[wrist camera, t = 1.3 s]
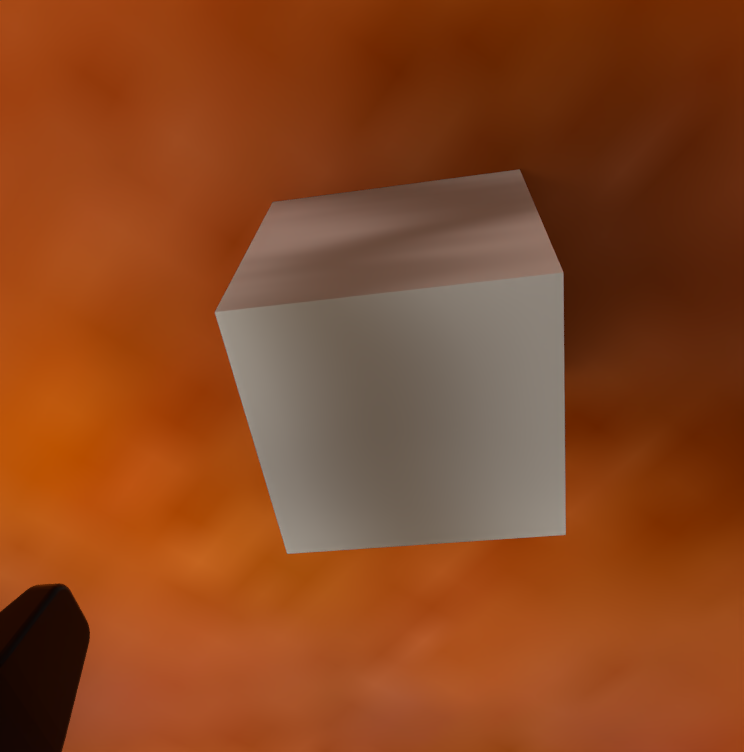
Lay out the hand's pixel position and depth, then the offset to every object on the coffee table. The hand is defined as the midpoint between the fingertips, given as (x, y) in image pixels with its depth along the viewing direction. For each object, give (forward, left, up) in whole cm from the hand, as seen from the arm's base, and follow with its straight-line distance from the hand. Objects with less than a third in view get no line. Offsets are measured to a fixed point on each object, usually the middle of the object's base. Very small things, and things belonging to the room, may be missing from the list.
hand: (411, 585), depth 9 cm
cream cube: (0, 0, -8) cm, 8 cm away
